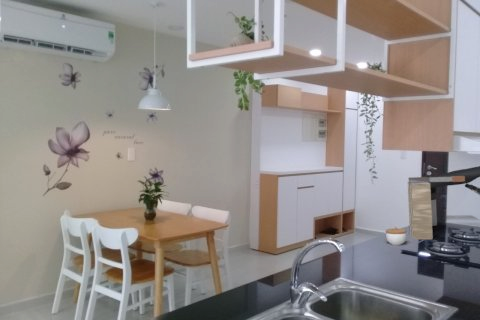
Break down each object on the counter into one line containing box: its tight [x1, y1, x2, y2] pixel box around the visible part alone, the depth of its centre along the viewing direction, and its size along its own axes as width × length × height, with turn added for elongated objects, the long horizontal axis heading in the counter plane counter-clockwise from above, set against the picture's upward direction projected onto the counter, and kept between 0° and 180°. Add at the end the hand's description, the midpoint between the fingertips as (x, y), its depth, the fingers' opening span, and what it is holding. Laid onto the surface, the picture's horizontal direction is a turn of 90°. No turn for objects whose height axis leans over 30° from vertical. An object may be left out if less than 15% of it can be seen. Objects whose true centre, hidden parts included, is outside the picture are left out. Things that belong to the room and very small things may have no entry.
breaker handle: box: [429, 176, 465, 182], centre depth 246 cm, size 4×18×3 cm, turn 76°
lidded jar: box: [385, 226, 407, 246], centre depth 234 cm, size 11×11×9 cm
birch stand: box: [407, 176, 434, 240], centre depth 250 cm, size 15×10×35 cm, turn 166°
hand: (467, 185), depth 243 cm, fingers open, 8 cm apart
